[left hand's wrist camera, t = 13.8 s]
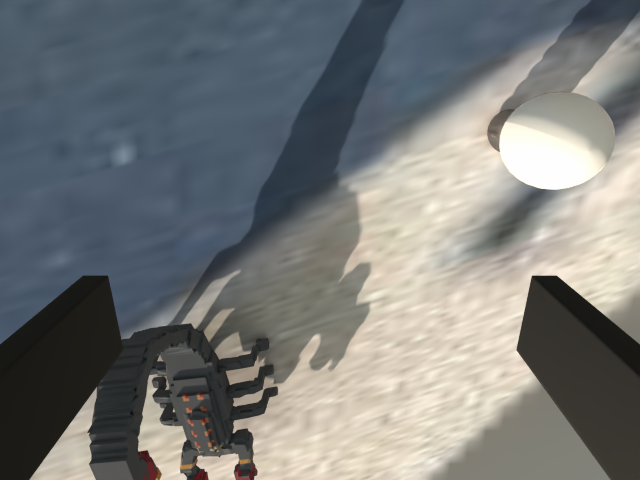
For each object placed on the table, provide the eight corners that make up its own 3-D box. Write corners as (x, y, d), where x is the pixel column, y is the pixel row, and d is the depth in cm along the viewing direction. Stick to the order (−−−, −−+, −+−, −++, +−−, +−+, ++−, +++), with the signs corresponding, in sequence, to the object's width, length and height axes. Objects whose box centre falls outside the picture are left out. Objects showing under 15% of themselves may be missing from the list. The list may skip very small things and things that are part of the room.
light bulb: (459, 151, 37) (513, 180, 26) (499, 76, 34) (575, 74, 24) (524, 180, 37) (600, 218, 27) (567, 108, 35) (668, 120, 25)
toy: (252, 262, 40) (202, 395, 23) (292, 460, 50) (277, 657, 33) (120, 277, 41) (-23, 417, 24) (184, 470, 51) (116, 668, 34)
